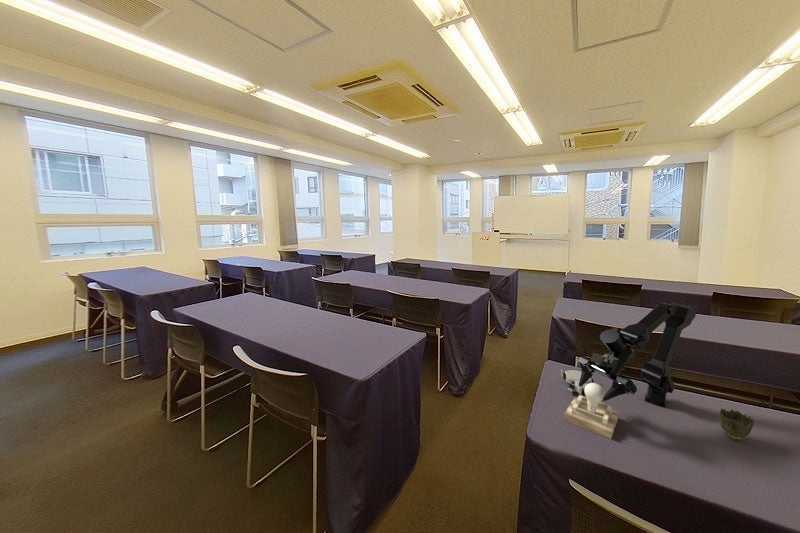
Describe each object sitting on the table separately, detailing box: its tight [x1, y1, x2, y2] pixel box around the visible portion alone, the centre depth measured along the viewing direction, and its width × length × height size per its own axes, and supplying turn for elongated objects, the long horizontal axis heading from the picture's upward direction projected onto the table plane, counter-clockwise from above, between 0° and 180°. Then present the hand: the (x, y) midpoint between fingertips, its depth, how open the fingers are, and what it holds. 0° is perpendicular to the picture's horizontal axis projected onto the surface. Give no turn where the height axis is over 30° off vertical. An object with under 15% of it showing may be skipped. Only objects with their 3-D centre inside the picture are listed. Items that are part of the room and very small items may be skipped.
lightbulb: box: [584, 382, 606, 413], centre depth 107 cm, size 6×6×11 cm
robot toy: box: [560, 369, 595, 396], centre depth 128 cm, size 12×4×15 cm
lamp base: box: [563, 394, 620, 440], centre depth 108 cm, size 14×14×5 cm
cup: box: [719, 408, 755, 442], centre depth 98 cm, size 8×7×8 cm
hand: (591, 392), depth 106 cm, fingers open, 9 cm apart
